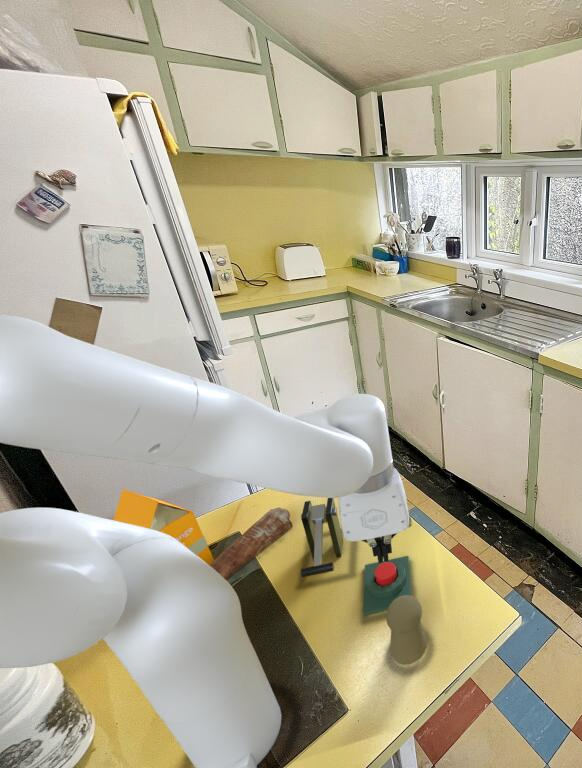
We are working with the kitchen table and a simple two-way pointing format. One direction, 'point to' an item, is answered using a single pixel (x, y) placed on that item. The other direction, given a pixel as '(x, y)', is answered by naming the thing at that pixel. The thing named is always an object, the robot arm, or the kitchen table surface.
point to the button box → (383, 596)
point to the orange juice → (163, 521)
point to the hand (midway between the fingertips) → (383, 555)
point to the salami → (252, 542)
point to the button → (385, 573)
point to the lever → (318, 543)
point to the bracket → (332, 524)
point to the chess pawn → (406, 630)
